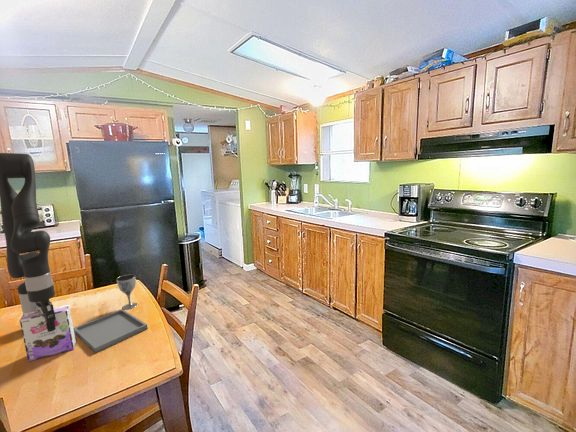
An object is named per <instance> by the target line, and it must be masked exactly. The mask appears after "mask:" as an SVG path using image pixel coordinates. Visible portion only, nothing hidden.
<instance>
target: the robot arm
mask: <svg viewBox="0 0 576 432" xmlns="http://www.w3.org/2000/svg"><path fill="white" fill-rule="evenodd" d="M9 179H24V184H23V185H22V188H21V189H20V190H19V192H16V190H15V189H14V188H13V187H12V185H11V183H10V182H9ZM36 185H37V183H36V170H35V163H34V160H33V158H32V156H31V155H30V154H29V153H28V154H27V153H16V152H12V153H11V152H0V210H1V211H0V212H1V219H2V225H3V231H4V238H5V244H6V245H5V246H6V263H7V264H6V265H7V271H8V274H9V276H10V277H11V278H12V279H21V278H24V282H22V283H21V284H20V285H18V287H17V293H18V297H19V301H20V307H21V312H22V316H23V315H24V313H30V312H35V311H40V313H41V316H42V317H43V318H44V319H45V322H46V325H47V330H48V332H51V331H53V330H55V329H56V328H55V323H54V320H56V317H55V313H54V308H55V307H54V304H53V303H52V301H50V299H52V298H53V297H55V295H56V289H55V285H54V281H53V276H52V273H51V270H50V265H49V249H50V244H51V236H50V234H49V233H48V232H47V231H45V230H36V231H35V230H34V231H33V229H35V228H37V227H38V226H39V225H40V223H41V219H40V214H39V209H38V203H37V186H36ZM49 315H51V317H52V318H49V319H48V316H49Z"/></svg>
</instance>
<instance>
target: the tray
mask: <svg viewBox="0 0 576 432" xmlns="http://www.w3.org/2000/svg"><path fill="white" fill-rule="evenodd" d="M73 329H74V334H75V336H77V337H78V338H79V339H80V340H81V341H83V343H84V344H86V346H88V347H89V348H90V349H91V350H92V351H93V353H95V354H97V353H99V352H101V351H104V350H106V349H108V348H110V347H112V346H114V345H116V344H119V343H120V342H123V341H125V340H127V339H129V338H131V337H134V336H135V335H137V334H140V333H142V332H143V331H144V332H145V331H146V330H148V324H147V323H146V322H144V321H142V320H141V319H139V318H138V317H136V316H134V315H132V314H131V313H130V312H128V311H126V310H124V309H122V308H121V309H119V310H116V311H113V312H112V313H111V312H110V313H107V314H105V315H104V316H101V317H98V318H96V319H93V320H91V321H88V322H85V323H82V324H81V325H78V326H75V327H73Z"/></svg>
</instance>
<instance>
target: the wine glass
mask: <svg viewBox="0 0 576 432" xmlns="http://www.w3.org/2000/svg"><path fill="white" fill-rule="evenodd" d="M136 281H137V280H136V275H135V274H130V273H129V274H124V275H120V276H119V277H117V278H116V284H117V287H118V290H119V291H120V292H122V293H123V294H125V295H126V297H127V299H128V300H127V301H128V303H126V304H124V305H123V306H122V307H121V309H123V310H125V311H126V310H133V309H135V308H137V307H138V306H137V303H138V302H131V294H132V292H133V291H134V290H135V288H136V284H137V282H136ZM136 306H137V307H136ZM134 307H135V308H134ZM132 308H133V309H132Z"/></svg>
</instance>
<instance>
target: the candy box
mask: <svg viewBox="0 0 576 432" xmlns="http://www.w3.org/2000/svg"><path fill="white" fill-rule="evenodd" d="M53 308H54V313H55V317H56V320H54V323H55V328H56V329H55V330H53V331H51V332H48V330H47V325H46V322H45V319H44V318H43V317H42V316H41V313H40V311H35V312H30V313H24V315H23V314H22V316H21V318H20V319H19V324H20V327H21V333H22V334H21V335H22V338H23V339H22V340H23V342H24V343H23V344H24V348H25V352H26V357H27V361H28V362H31V361H36V360H39V359H43V358H46V357H50V356H54V355H55V356H56V355H58V354H62V353H65V352H70V351H73V350H75V348H76V345H77V341H76V334H75V333H74V329H73V328H74V324H73V317H72V313H71V312H72V311H71V305H70V304H65V305H61V306H56V307H53ZM49 318H52V317H51V315H49V316H48V319H49Z"/></svg>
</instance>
